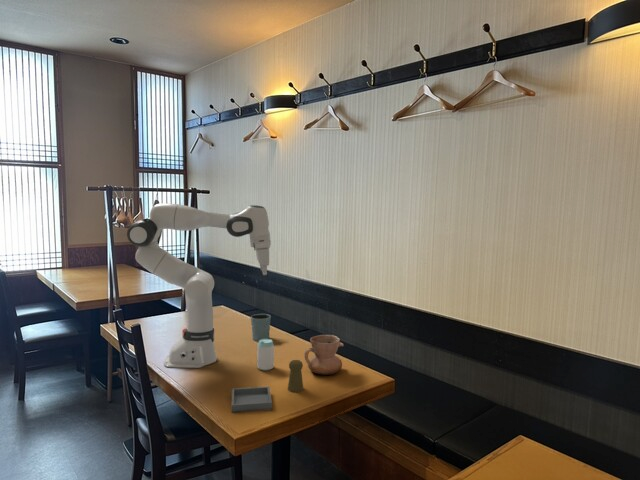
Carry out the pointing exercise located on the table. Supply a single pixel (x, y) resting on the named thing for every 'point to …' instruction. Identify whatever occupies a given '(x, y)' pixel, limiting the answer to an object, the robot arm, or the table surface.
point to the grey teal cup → (260, 326)
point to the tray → (251, 399)
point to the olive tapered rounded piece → (295, 376)
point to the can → (265, 354)
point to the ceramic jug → (324, 355)
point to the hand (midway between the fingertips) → (263, 272)
